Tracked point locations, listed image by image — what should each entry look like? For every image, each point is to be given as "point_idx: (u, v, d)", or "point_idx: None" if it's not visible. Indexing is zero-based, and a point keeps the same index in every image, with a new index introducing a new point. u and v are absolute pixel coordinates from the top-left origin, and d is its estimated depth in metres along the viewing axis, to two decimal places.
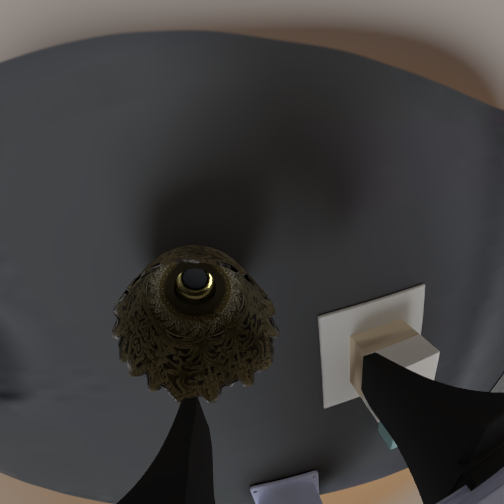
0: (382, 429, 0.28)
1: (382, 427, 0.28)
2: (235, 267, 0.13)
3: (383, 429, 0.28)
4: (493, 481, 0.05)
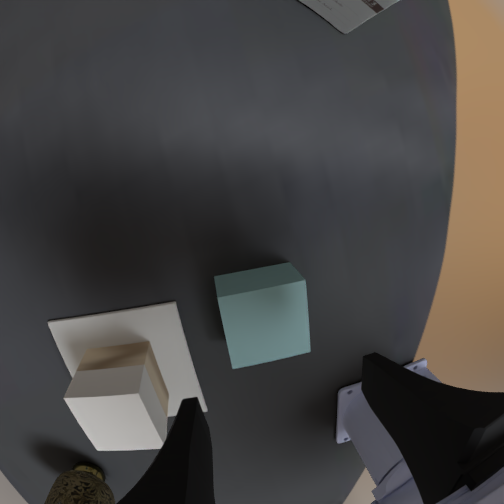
0: None
1: None
2: None
3: None
4: (493, 481, 0.05)
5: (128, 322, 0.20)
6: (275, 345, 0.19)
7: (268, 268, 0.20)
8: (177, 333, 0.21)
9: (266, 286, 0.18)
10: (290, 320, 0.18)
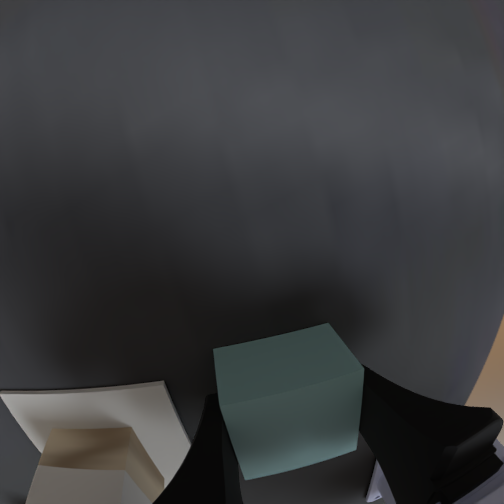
0: None
1: None
2: None
3: None
4: (493, 481, 0.05)
5: (99, 404, 0.12)
6: (309, 451, 0.11)
7: (298, 338, 0.12)
8: (170, 420, 0.13)
9: (301, 382, 0.10)
10: (334, 421, 0.10)
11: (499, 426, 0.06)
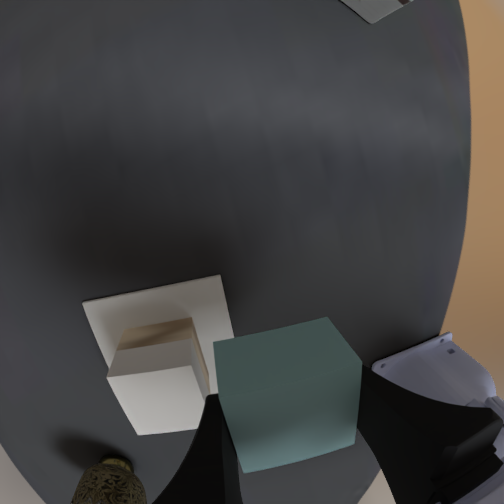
0: None
1: None
2: (70, 503, 0.17)
3: None
4: (493, 481, 0.05)
5: (170, 297, 0.20)
6: (307, 445, 0.11)
7: (297, 331, 0.13)
8: (221, 308, 0.21)
9: (300, 375, 0.10)
10: (332, 414, 0.11)
11: (499, 426, 0.06)
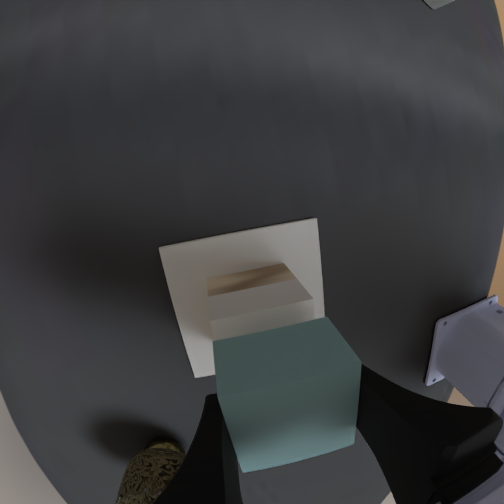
0: None
1: None
2: (117, 497, 0.16)
3: None
4: (493, 481, 0.05)
5: (264, 240, 0.20)
6: (306, 444, 0.11)
7: (297, 331, 0.13)
8: (314, 253, 0.20)
9: (299, 374, 0.10)
10: (331, 414, 0.11)
11: (499, 426, 0.06)
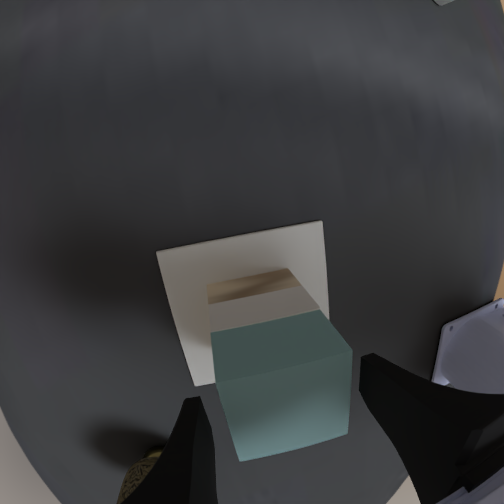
0: None
1: None
2: None
3: None
4: (493, 480, 0.05)
5: (267, 245, 0.19)
6: (301, 433, 0.12)
7: (291, 323, 0.13)
8: (319, 257, 0.19)
9: (293, 362, 0.11)
10: (324, 402, 0.11)
11: None
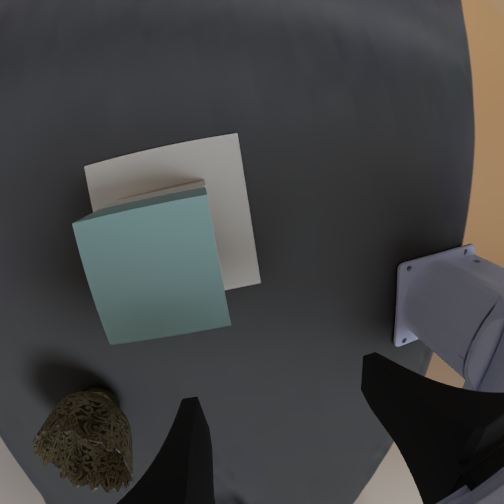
0: None
1: None
2: None
3: None
4: (493, 480, 0.05)
5: (182, 155, 0.18)
6: (169, 310, 0.11)
7: (170, 194, 0.13)
8: (236, 169, 0.19)
9: (145, 206, 0.10)
10: (187, 265, 0.11)
11: None
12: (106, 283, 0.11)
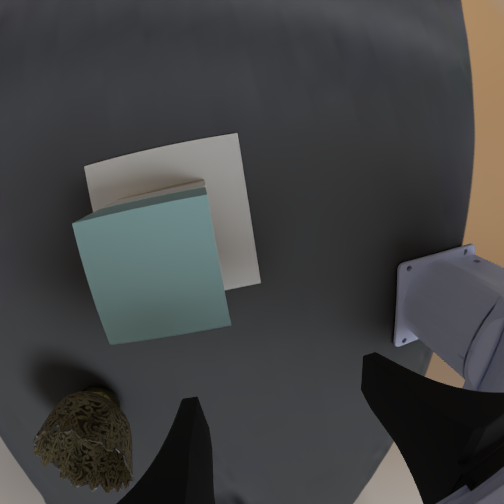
0: None
1: None
2: None
3: None
4: (493, 480, 0.05)
5: (182, 155, 0.18)
6: (169, 310, 0.11)
7: (170, 194, 0.13)
8: (236, 169, 0.19)
9: (145, 206, 0.10)
10: (187, 265, 0.11)
11: None
12: (106, 283, 0.11)
